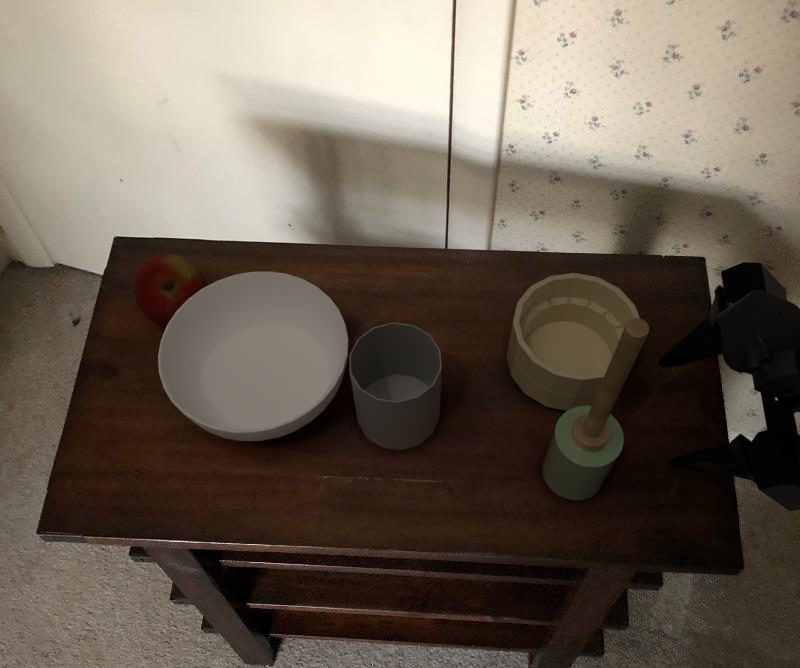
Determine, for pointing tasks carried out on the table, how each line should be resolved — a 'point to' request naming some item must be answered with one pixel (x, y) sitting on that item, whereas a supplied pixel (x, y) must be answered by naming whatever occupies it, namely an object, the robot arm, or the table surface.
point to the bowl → (254, 355)
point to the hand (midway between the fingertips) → (665, 412)
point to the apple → (166, 286)
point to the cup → (396, 385)
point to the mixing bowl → (566, 338)
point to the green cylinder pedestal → (579, 459)
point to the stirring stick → (610, 389)
